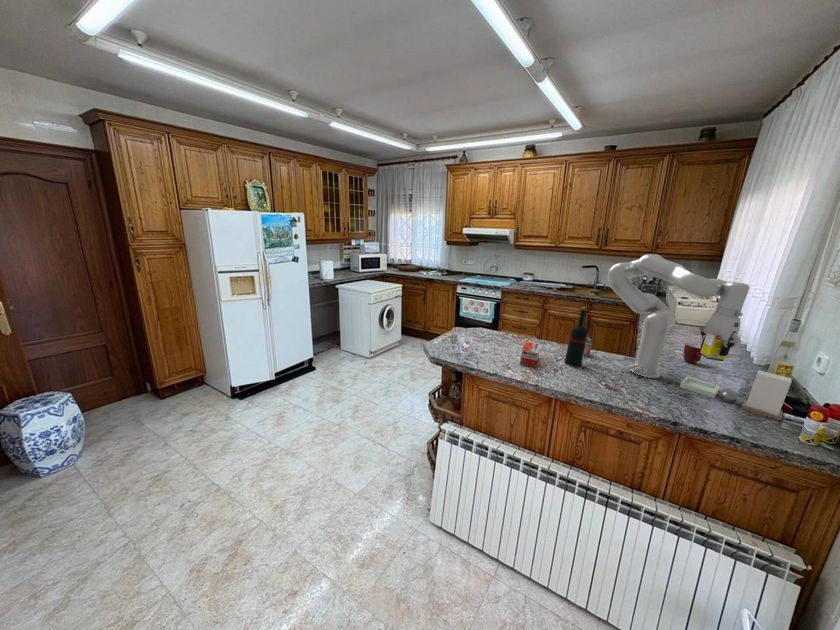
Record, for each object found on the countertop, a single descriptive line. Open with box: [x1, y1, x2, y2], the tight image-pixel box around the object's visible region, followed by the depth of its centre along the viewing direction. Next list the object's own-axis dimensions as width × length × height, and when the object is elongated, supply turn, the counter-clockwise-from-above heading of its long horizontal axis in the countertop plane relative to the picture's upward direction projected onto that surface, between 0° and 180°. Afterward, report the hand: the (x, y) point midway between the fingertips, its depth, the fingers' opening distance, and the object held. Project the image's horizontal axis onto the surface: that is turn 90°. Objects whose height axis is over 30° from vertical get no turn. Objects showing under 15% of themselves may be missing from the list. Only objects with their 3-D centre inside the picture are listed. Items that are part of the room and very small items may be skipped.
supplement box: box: [700, 333, 732, 362], centre depth 137 cm, size 6×6×11 cm
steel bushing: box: [719, 389, 739, 405], centre depth 136 cm, size 5×5×4 cm
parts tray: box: [679, 376, 720, 399], centre depth 146 cm, size 12×12×2 cm
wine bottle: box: [564, 306, 588, 368], centre depth 164 cm, size 8×10×30 cm
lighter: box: [583, 337, 593, 357], centre depth 179 cm, size 8×3×10 cm, turn 5°
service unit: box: [740, 369, 792, 421], centre depth 127 cm, size 8×11×16 cm
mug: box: [683, 342, 702, 365], centre depth 175 cm, size 10×8×10 cm
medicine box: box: [519, 341, 542, 368], centre depth 166 cm, size 15×8×8 cm, turn 157°
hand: (713, 351), depth 138 cm, fingers closed on supplement box, 7 cm apart
